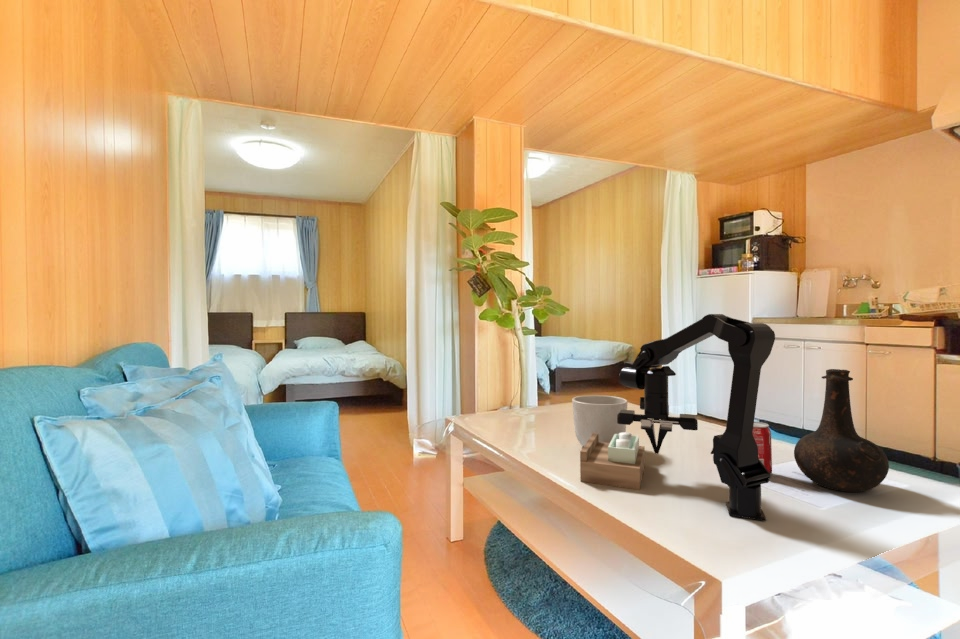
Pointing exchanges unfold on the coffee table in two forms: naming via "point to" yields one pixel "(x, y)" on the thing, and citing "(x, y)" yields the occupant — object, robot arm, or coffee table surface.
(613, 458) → the tray
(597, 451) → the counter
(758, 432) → the soda can
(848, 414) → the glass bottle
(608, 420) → the planter
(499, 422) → the coffee table surface
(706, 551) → the coffee table surface
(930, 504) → the coffee table surface
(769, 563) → the coffee table surface
